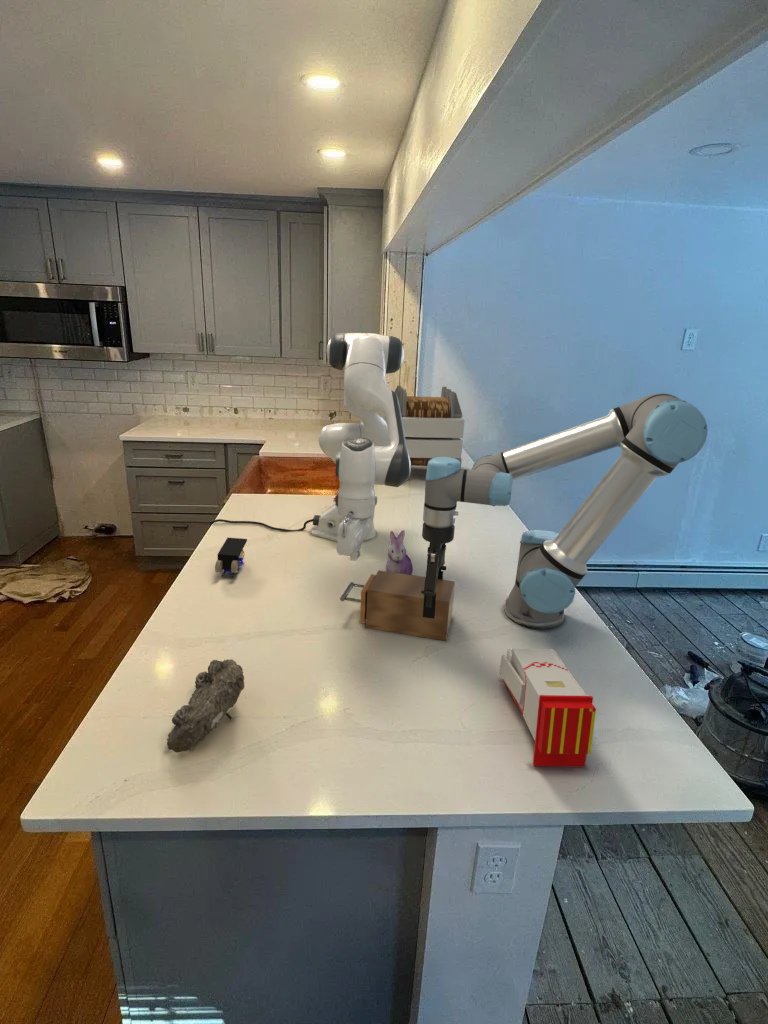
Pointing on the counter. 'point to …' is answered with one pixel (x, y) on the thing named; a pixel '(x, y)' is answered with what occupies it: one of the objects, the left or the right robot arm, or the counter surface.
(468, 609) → the counter surface
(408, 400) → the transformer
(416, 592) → the cabinet
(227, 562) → the black toy rover
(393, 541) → the figurine
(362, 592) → the drawer
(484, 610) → the counter surface
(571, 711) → the toy
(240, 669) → the fossil
